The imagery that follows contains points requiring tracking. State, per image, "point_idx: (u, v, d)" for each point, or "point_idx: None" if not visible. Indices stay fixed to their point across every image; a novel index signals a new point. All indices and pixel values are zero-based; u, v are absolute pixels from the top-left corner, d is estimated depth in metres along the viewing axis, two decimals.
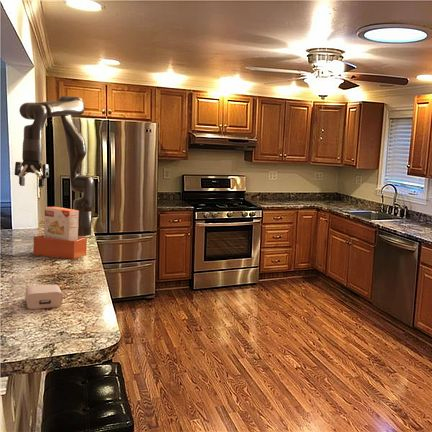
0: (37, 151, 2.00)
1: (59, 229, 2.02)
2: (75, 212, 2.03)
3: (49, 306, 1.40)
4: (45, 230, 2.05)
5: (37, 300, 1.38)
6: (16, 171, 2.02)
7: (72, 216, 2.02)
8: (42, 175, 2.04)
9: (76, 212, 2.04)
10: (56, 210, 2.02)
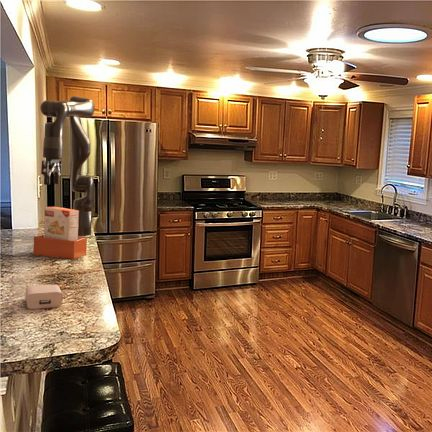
0: (45, 147, 1.98)
1: (59, 229, 2.02)
2: (75, 212, 2.03)
3: (49, 306, 1.40)
4: (45, 230, 2.05)
5: (37, 300, 1.38)
6: None
7: (72, 216, 2.02)
8: None
9: (76, 212, 2.04)
10: (56, 210, 2.02)
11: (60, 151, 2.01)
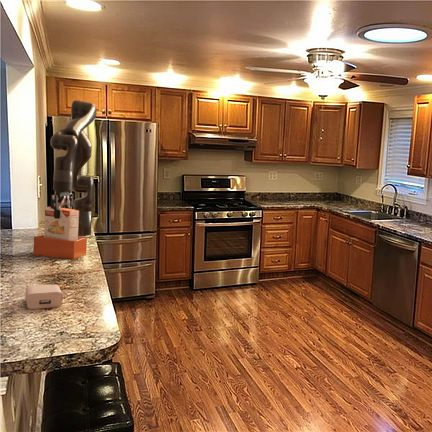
0: (55, 181, 2.00)
1: (60, 228, 2.02)
2: (75, 212, 2.03)
3: (49, 306, 1.40)
4: (45, 230, 2.05)
5: (37, 300, 1.38)
6: None
7: (72, 216, 2.02)
8: (58, 206, 2.01)
9: (76, 212, 2.04)
10: None
11: (69, 184, 2.03)
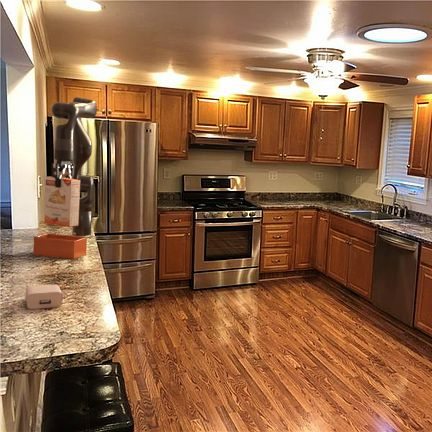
0: (55, 149, 1.99)
1: (61, 198, 2.01)
2: (77, 181, 2.02)
3: (49, 306, 1.40)
4: (46, 200, 2.04)
5: (37, 300, 1.38)
6: None
7: (74, 185, 2.01)
8: (59, 175, 1.99)
9: (78, 181, 2.03)
10: None
11: (70, 153, 2.01)
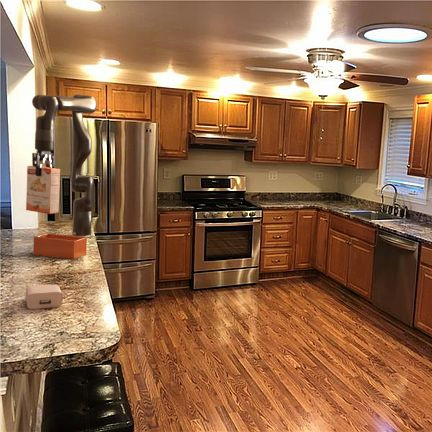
0: (36, 140, 2.08)
1: (41, 186, 2.10)
2: (57, 170, 2.11)
3: (50, 306, 1.40)
4: (27, 188, 2.13)
5: (37, 300, 1.38)
6: None
7: (54, 173, 2.10)
8: (40, 164, 2.08)
9: (58, 170, 2.12)
10: None
11: (51, 143, 2.10)
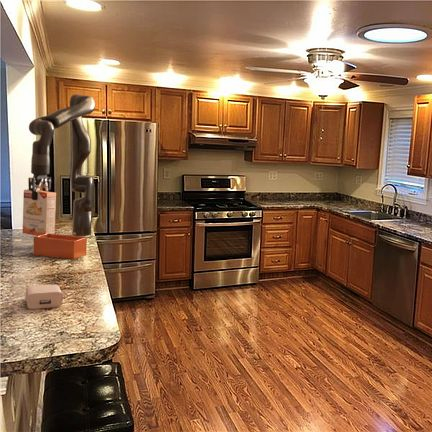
0: (32, 164, 2.11)
1: (37, 210, 2.13)
2: (52, 194, 2.14)
3: (50, 306, 1.40)
4: (24, 211, 2.16)
5: (37, 300, 1.38)
6: None
7: (50, 197, 2.13)
8: (36, 188, 2.11)
9: (53, 194, 2.15)
10: None
11: (47, 167, 2.13)
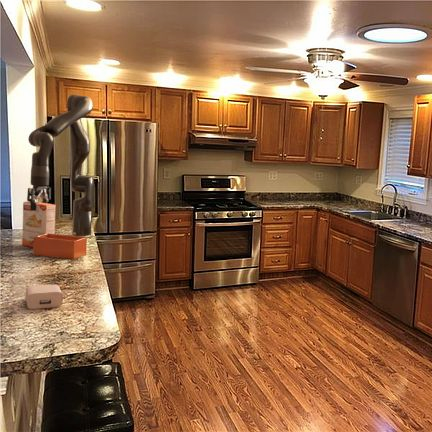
0: (32, 176, 2.11)
1: (37, 222, 2.13)
2: (52, 206, 2.15)
3: (50, 306, 1.40)
4: (23, 223, 2.16)
5: (37, 300, 1.38)
6: None
7: (49, 210, 2.13)
8: (34, 199, 2.11)
9: (53, 206, 2.15)
10: None
11: (46, 179, 2.14)
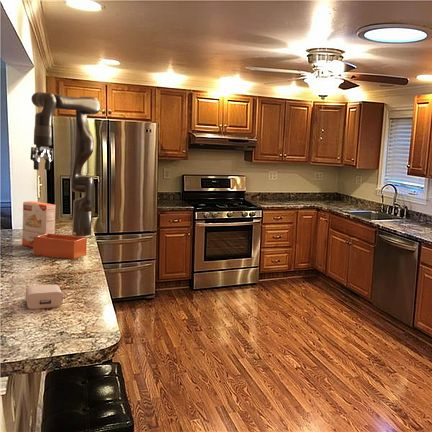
0: (35, 135, 2.15)
1: (37, 222, 2.13)
2: (52, 206, 2.15)
3: (50, 306, 1.40)
4: (23, 223, 2.16)
5: (37, 300, 1.38)
6: None
7: (49, 210, 2.13)
8: (38, 158, 2.15)
9: (53, 206, 2.15)
10: (34, 204, 2.13)
11: (49, 139, 2.18)
